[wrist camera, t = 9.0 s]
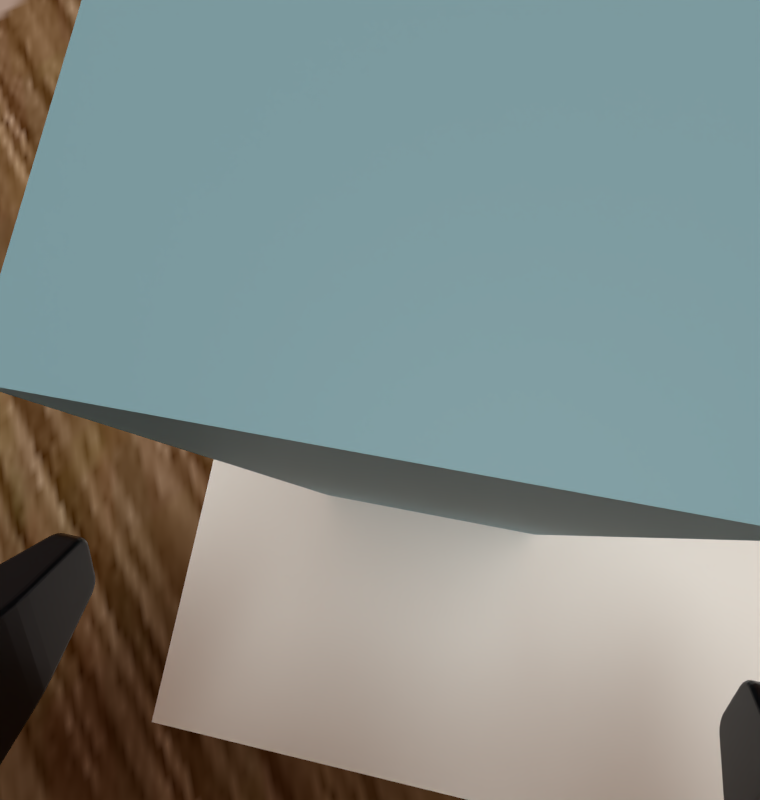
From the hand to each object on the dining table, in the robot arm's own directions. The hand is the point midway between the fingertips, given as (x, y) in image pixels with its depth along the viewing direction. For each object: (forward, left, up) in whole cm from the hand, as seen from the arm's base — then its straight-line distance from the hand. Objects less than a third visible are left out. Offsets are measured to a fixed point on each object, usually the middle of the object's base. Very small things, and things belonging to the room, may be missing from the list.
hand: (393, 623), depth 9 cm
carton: (+2, +3, -7) cm, 8 cm away
